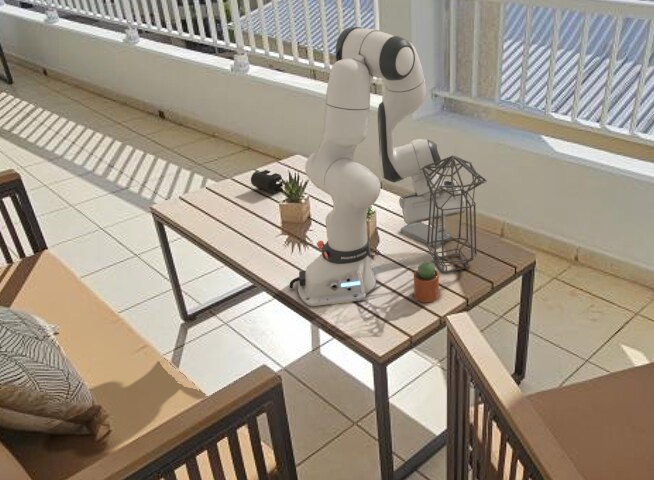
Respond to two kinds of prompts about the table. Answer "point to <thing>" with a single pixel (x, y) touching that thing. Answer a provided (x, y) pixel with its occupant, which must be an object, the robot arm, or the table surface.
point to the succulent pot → (426, 283)
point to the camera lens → (267, 181)
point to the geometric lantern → (474, 174)
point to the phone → (423, 233)
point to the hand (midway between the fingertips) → (440, 231)
